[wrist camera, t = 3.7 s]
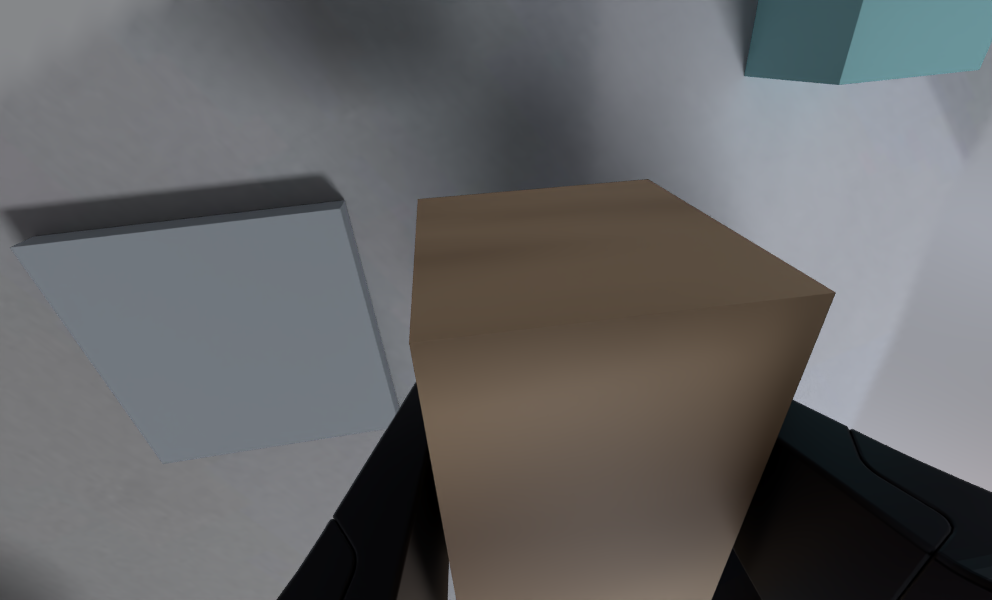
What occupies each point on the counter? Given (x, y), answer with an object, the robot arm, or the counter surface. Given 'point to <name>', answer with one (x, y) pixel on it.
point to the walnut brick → (599, 386)
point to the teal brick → (867, 39)
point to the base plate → (224, 326)
